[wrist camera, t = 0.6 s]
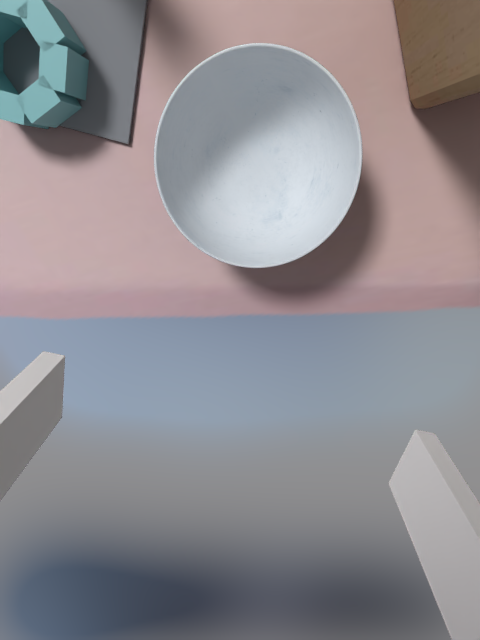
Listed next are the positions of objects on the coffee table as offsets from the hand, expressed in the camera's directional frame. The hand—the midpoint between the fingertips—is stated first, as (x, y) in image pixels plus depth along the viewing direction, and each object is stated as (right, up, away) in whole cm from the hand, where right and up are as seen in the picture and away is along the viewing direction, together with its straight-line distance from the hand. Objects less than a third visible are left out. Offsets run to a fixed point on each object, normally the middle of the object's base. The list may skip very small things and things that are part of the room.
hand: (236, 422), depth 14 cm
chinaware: (+2, +18, +21) cm, 27 cm away
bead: (-17, +25, +18) cm, 35 cm away
